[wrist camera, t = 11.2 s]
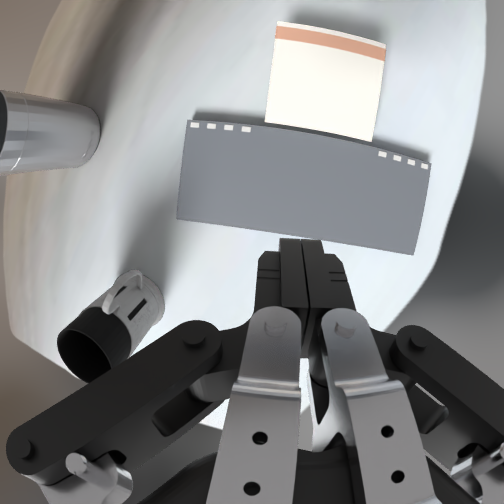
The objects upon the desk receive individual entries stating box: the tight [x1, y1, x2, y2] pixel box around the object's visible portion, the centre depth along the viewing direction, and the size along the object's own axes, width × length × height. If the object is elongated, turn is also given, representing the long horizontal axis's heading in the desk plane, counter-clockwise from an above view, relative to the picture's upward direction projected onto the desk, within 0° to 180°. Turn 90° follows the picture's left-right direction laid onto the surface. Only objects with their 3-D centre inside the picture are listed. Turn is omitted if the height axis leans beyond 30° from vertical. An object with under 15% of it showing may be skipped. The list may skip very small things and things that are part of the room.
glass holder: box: [57, 270, 165, 383], centre depth 32 cm, size 9×14×15 cm, turn 147°
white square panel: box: [265, 21, 386, 142], centre depth 26 cm, size 12×1×12 cm
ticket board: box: [177, 120, 431, 255], centre depth 33 cm, size 30×12×2 cm, turn 83°
